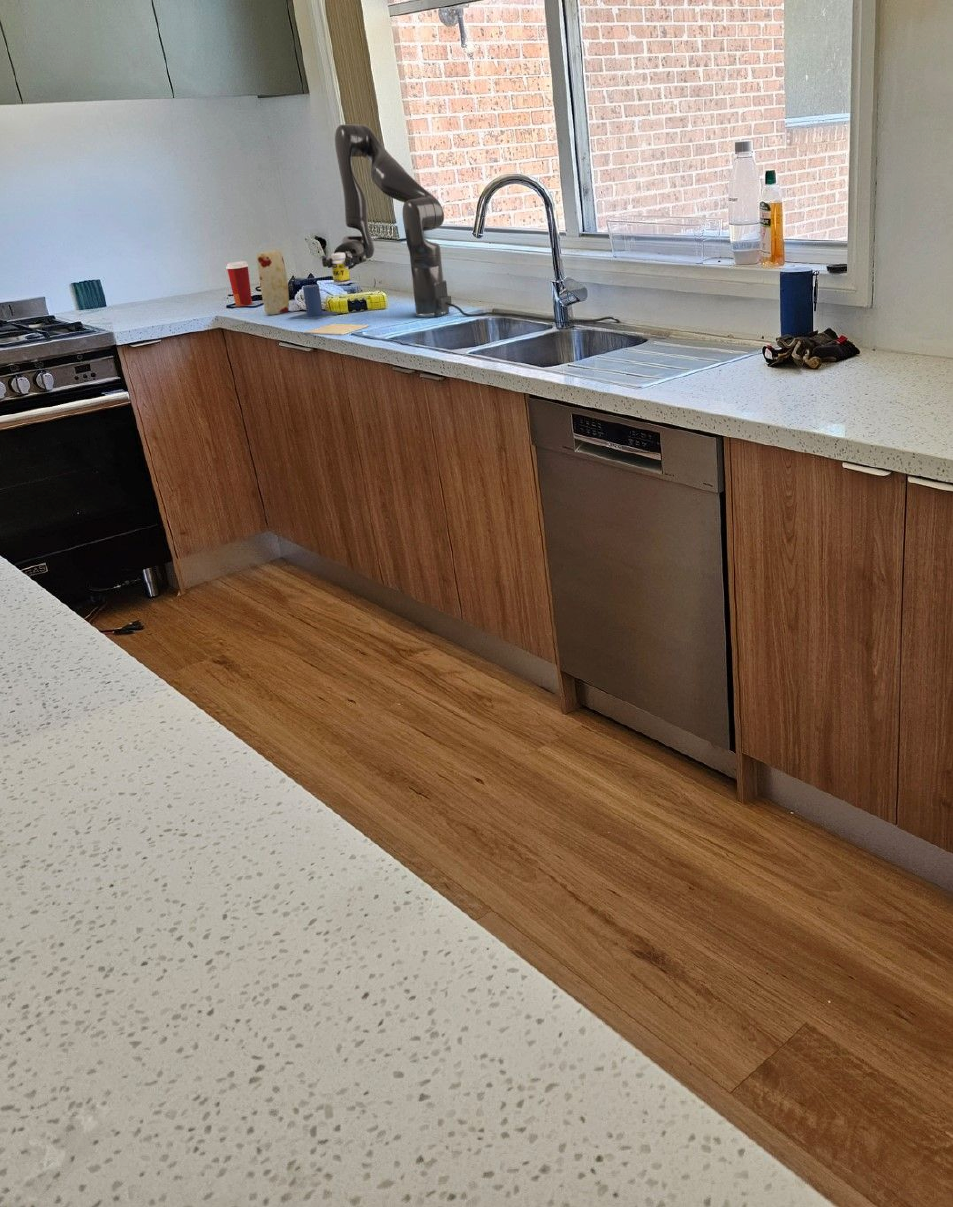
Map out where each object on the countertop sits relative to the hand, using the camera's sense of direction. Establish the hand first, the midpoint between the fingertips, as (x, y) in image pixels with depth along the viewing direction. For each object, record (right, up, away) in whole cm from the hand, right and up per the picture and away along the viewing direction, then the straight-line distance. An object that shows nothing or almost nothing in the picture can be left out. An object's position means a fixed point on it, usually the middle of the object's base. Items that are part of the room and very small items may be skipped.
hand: (337, 263), depth 314 cm
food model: (-24, -5, +35) cm, 43 cm away
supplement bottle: (+1, -4, +5) cm, 7 cm away
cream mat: (0, -19, +1) cm, 19 cm away
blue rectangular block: (-11, -8, +25) cm, 29 cm away
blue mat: (-10, -9, +25) cm, 29 cm away
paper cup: (-40, +4, +59) cm, 72 cm away
